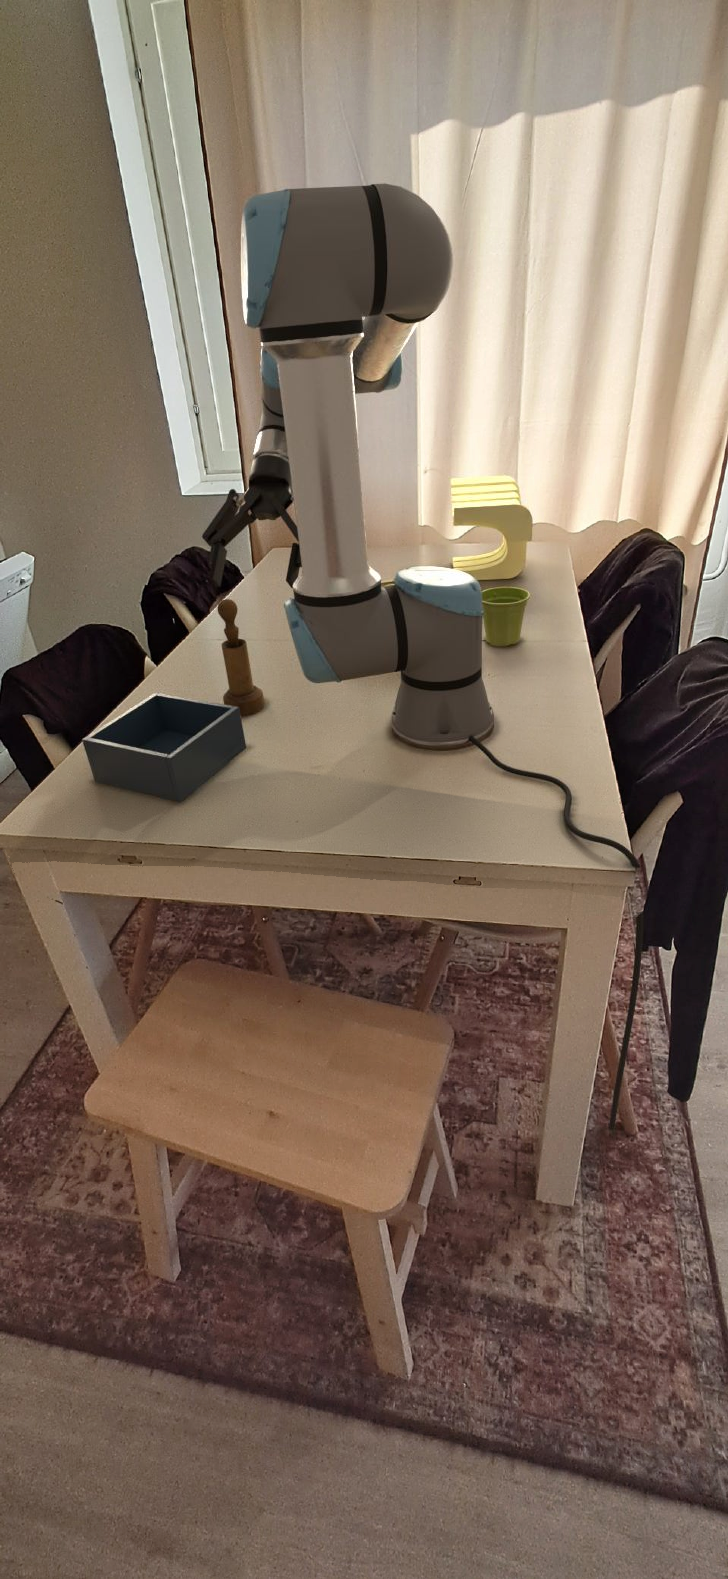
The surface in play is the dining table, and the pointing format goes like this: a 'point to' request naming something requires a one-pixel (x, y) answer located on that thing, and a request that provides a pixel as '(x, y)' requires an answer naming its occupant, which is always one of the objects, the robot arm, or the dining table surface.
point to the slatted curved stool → (492, 524)
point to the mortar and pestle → (238, 665)
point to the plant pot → (503, 614)
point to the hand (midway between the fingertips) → (251, 584)
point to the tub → (165, 745)
